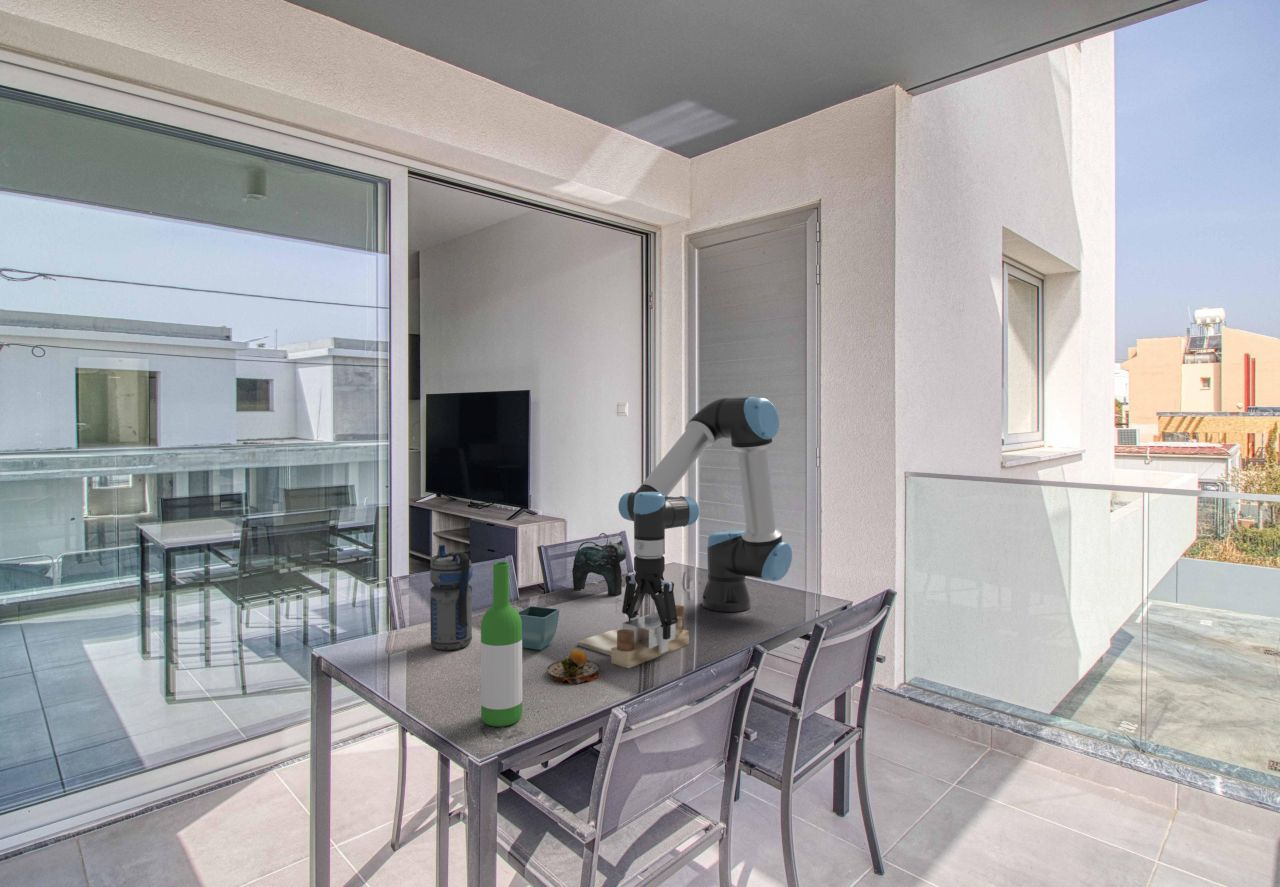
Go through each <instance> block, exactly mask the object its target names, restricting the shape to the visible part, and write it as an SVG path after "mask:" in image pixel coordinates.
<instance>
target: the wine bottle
mask: <svg viewBox="0 0 1280 887" xmlns="http://www.w3.org/2000/svg"><path fill="white" fill-rule="evenodd" d="M492 567H493V577H492V578H493V589H492V590H493V591H492V592H493V593H492V594H493V596H492V597H493V601H492V602H493V604H492V605H491V607H489V608H488V610H486V611H485V612H484V615H483V617H482V619H481V623H480V705H481V706H480V715H481V717H480V718H481V719H482V721H483V723H484V724H486V725H488V726H491V727H507V726H510V725H514V724H516V723H517V722H518V721H520V719H521V717H522V716H523V646H522V621H521V617H520V615H519V613H518V612H519V611H517V609H516V608H515V607H514V606H512V605H511V603H510V563H509V562H506V561H498V562H495V563H493V566H492Z"/></svg>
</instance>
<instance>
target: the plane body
mask: <svg viewBox="0 0 1280 887" xmlns="http://www.w3.org/2000/svg"><path fill="white" fill-rule="evenodd" d="M675 606H676V613H677V619H678V622H677V623H676V631H675V639H674V640H671V641H669V642H668V651H667V652H664V653H659V645H658V646H655V647H653V648H650V649H647V648H644V647H641V646H637V645H634V631H633V630H629V629H623V628H622V629H618V631H617V646H616V647H613V648H611V656H610V657H611V658H610V662H611V663H610V664H613V665H617V666H619V667H622V668H626V669H630V668H632V667H636V666H639V665H640V664H643V663H645V662H648V661H651V660H653V659H656V658H658V657H661V656H663V655H665V654H668V653H671V652H673V651H676V650H679V649H681V648H683V647H686V646H688V645H690V630H687V629H685V627H684V626H685V625H684V624H685V623H684V622H685V620H684V619H685V617H684V616H685V615H684V614H685V613H684V612H685V606H684V605H679V604H675Z"/></svg>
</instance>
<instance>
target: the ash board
mask: <svg viewBox="0 0 1280 887" xmlns="http://www.w3.org/2000/svg"><path fill="white" fill-rule="evenodd" d="M618 630H619V629H618V628H614V629H611V630H608V631H605V632H602V633H599V634H596V635H593V636H590V637H587V638H584V639H581V640H578V641H577V646H579V647H582V648H583V647H584V648H586V649H589V650H592V651H595V652H597V653H601V654H605V655H607V656H610V657H611V648H613V647H616V646H617V631H618ZM584 644H585V645H584Z"/></svg>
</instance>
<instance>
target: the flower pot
mask: <svg viewBox="0 0 1280 887" xmlns="http://www.w3.org/2000/svg"><path fill="white" fill-rule="evenodd" d="M517 612H518V613H519V615H520V617H521V621H522V648H523V649H531V650H537V651H541V650H543V649H545V648H546V647H547V646H549V645H550V644H551V643H552V641H553V638H554V637H555V635H556V632H557V628H558V623H559V617H560V616H559V615H560V609H559V608H552V607H545V606H543V607H542V606H535V605H534V606H533V605H529V606H527V607H525V608H523V609H522V610H519V611H517Z"/></svg>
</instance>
